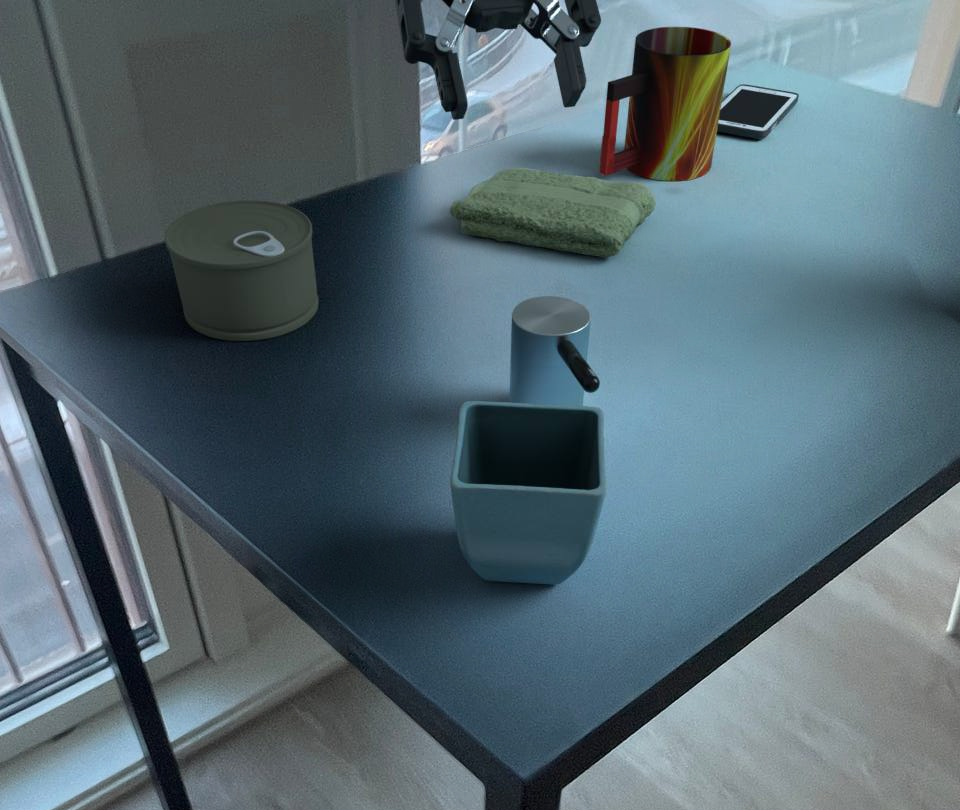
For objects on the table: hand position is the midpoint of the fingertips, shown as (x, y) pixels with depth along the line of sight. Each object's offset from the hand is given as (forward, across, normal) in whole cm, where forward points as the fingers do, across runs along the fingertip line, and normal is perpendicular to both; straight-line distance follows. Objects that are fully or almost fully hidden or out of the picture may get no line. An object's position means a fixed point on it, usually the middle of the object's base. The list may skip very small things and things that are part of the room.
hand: (518, 108), depth 72 cm
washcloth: (-1, +11, +26) cm, 28 cm away
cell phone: (-15, +44, +41) cm, 62 cm away
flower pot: (+32, -8, -6) cm, 34 cm away
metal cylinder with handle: (+23, -1, +3) cm, 23 cm away
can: (+5, -20, +21) cm, 29 cm away
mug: (-7, +27, +33) cm, 43 cm away
